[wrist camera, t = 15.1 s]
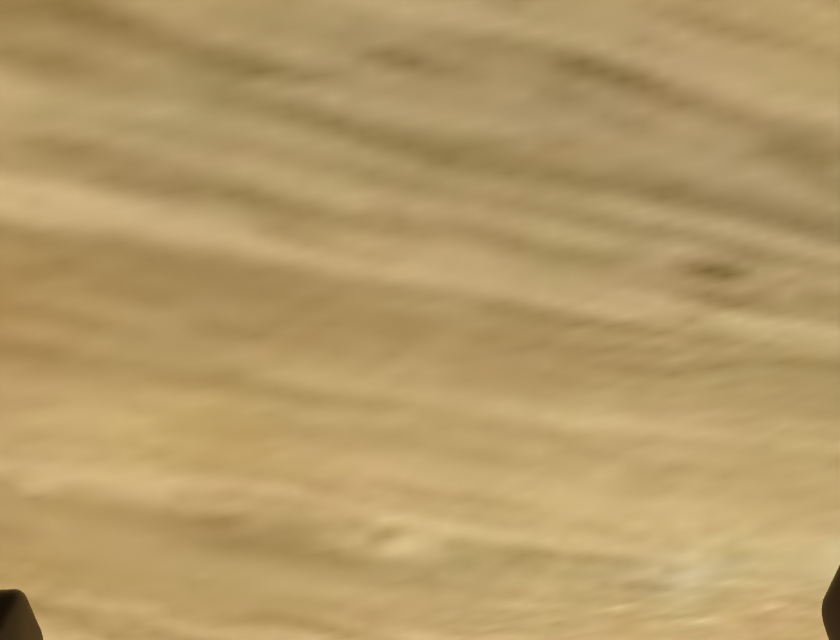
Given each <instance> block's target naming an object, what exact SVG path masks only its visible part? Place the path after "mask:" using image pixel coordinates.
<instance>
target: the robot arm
mask: <svg viewBox="0 0 840 640" xmlns="http://www.w3.org/2000/svg"><path fill="white" fill-rule="evenodd" d="M822 617H823V622H824V626H825V629H826V632H827V635H828V638H829V640H840V566H839V568H838V570H837V572H836V574H835V576H834V578H833V580H832V582H831V584H830V587H829V589H828V591H827V593H826V595H825V597H824V599H823V604H822ZM0 640H43V636H42V632H41V630H40V627H39V625H38V623H37V620H36V618H35V616H34V614H33V611H32V609H31V607H30V604H29V602H28V600H27V597H26V596H25V594H24V593H23V592H21V591H20V590H17V589H10V590H0Z"/></svg>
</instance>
